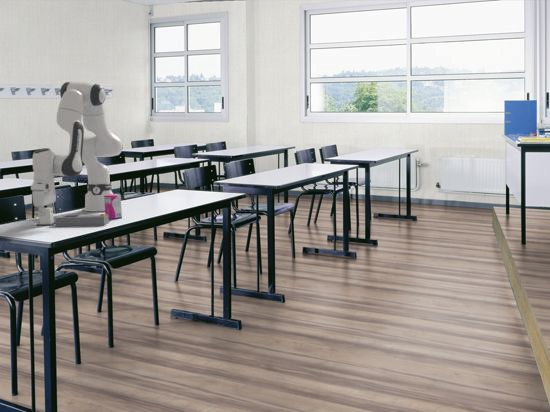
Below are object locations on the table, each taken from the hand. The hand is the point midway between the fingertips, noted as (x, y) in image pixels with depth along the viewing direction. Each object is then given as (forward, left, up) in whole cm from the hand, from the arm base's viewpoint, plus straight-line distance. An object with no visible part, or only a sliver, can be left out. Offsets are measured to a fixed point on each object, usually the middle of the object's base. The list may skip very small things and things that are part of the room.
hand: (46, 214), depth 302 cm
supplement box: (-16, +27, -5) cm, 32 cm away
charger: (0, 0, -4) cm, 4 cm away
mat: (0, 0, -5) cm, 5 cm away
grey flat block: (-2, +17, -5) cm, 18 cm away
